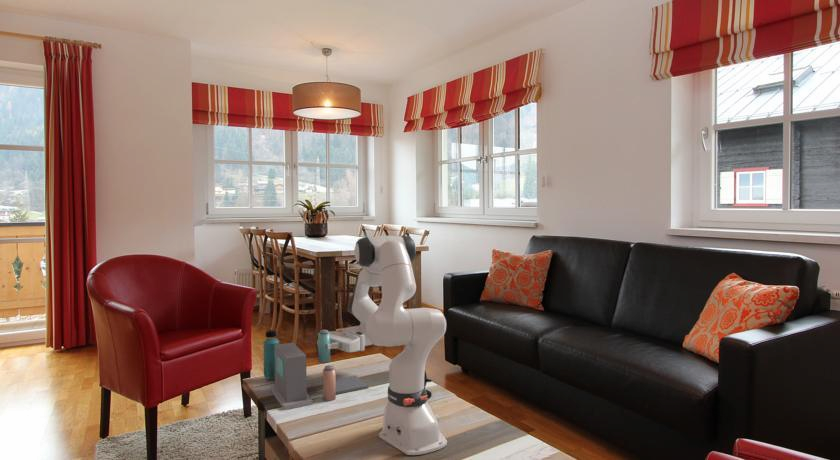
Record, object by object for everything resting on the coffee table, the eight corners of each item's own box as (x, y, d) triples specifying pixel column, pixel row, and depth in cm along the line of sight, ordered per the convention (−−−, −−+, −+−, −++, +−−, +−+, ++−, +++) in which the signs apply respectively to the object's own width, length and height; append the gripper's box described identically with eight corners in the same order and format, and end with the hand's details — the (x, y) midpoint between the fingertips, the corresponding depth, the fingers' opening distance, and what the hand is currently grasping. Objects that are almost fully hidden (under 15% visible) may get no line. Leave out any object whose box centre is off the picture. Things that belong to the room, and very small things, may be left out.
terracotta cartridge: (337, 399, 181) (337, 367, 181) (325, 402, 179) (325, 369, 178) (333, 395, 185) (333, 363, 185) (321, 397, 183) (321, 365, 182)
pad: (368, 388, 193) (368, 385, 192) (336, 394, 186) (336, 391, 186) (355, 377, 204) (355, 375, 204) (325, 383, 197) (325, 380, 197)
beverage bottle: (277, 382, 198) (277, 333, 197) (261, 382, 198) (260, 332, 197) (282, 376, 205) (281, 328, 203) (266, 376, 205) (265, 328, 204)
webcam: (414, 391, 190) (414, 365, 189) (433, 393, 188) (433, 367, 188) (409, 399, 182) (409, 372, 182) (429, 401, 181) (429, 374, 180)
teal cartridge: (331, 362, 192) (331, 331, 191) (320, 363, 189) (320, 333, 189) (327, 358, 195) (327, 328, 195) (316, 360, 193) (316, 330, 192)
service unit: (312, 404, 177) (312, 356, 176) (284, 410, 172) (283, 360, 171) (295, 384, 196) (295, 340, 195) (269, 388, 191) (269, 344, 190)
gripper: (336, 325, 208) (307, 332, 198) (366, 335, 194) (337, 342, 184) (336, 340, 209) (307, 347, 199) (366, 351, 194) (337, 359, 184)
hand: (322, 345), depth 191 cm, fingers closed on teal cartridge, 4 cm apart
